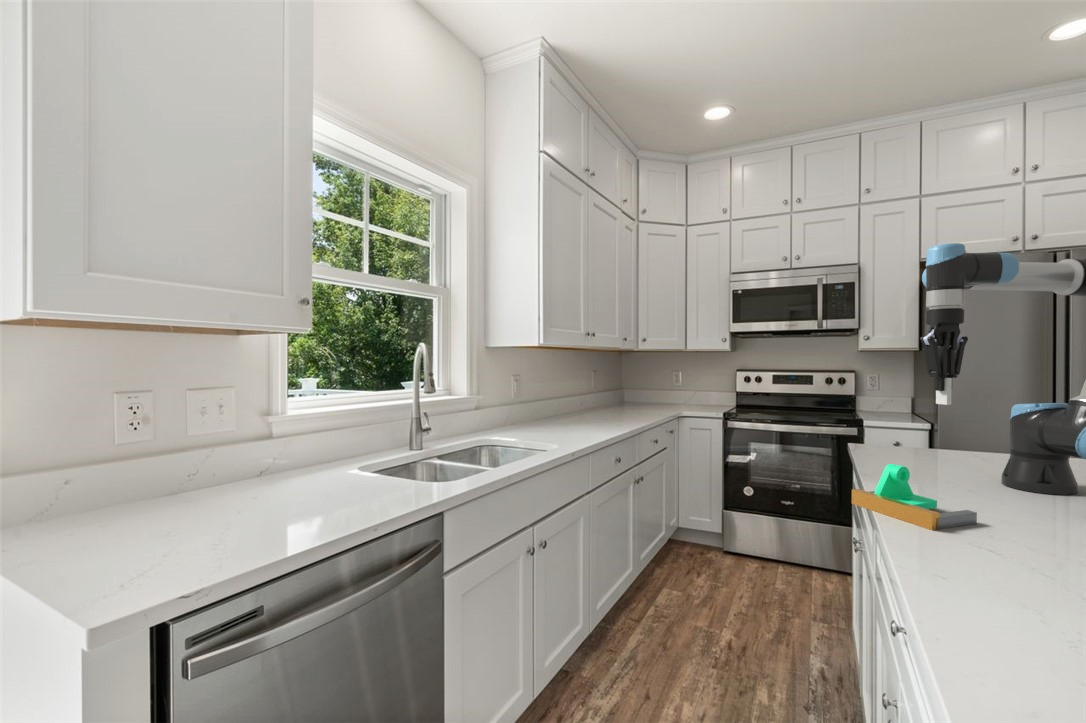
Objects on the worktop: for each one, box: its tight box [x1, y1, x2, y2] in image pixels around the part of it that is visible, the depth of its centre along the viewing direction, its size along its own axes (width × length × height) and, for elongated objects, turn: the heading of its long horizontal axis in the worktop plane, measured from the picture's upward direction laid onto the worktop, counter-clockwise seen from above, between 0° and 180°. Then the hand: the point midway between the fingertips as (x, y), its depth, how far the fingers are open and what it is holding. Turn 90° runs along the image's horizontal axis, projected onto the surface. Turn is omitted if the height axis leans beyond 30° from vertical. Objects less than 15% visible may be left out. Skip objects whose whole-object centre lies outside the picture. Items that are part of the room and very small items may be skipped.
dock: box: [851, 488, 978, 531], centre depth 123 cm, size 13×20×4 cm, turn 17°
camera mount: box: [874, 463, 938, 510], centre depth 126 cm, size 12×8×10 cm, turn 110°
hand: (943, 404), depth 131 cm, fingers closed
